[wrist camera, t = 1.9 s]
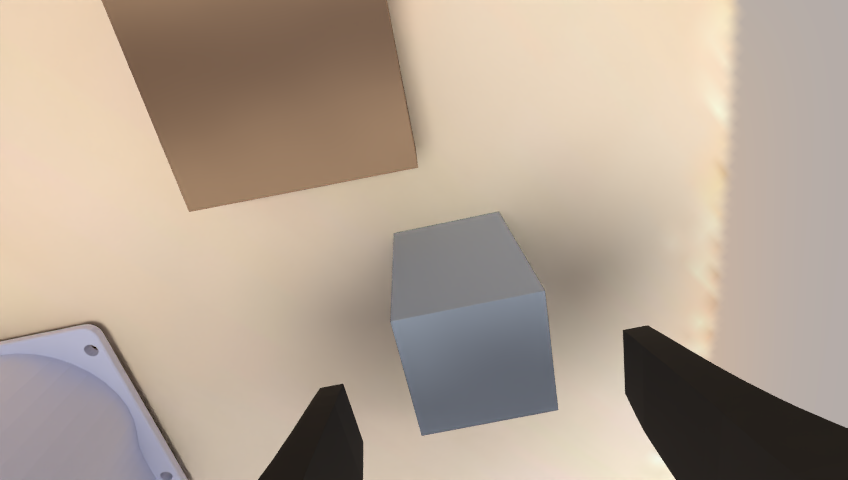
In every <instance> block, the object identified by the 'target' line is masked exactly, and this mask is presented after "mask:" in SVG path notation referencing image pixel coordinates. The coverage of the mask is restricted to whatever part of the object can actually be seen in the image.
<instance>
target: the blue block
mask: <svg viewBox="0 0 848 480" xmlns="http://www.w3.org/2000/svg"><path fill="white" fill-rule="evenodd" d="M390 322H391V325H392V329H393V333H394V336H395V340H396V343H397V347H398V351H399V354H400V358H401V362H402V365H403V369H404V373H405V376H406V380H407V384H408V387H409V391H410V395H411V398H412V402H413V405H414V409H415V413H416V416H417V420H418V424H419V427H420V431H421V435H422V436H423V435H429V434H434V433H439V432H444V431H450V430H455V429H460V428H466V427H471V426H476V425H481V424H487V423H492V422H497V421H503V420H508V419H513V418H518V417H524V416H529V415H534V414H540V413H545V412H550V411H555V410H558V403H557V394H556V385H555V376H554V367H553V358H552V349H551V340H550V332H549V323H548V314H547V305H546V296H545V290H544V288H543V287H542V285H541V283H540V281H539V280H538V278H537V276H536V275H535V273H534V271H533V269H532V268H531V266H530V264H529V263H528V261H527V259H526V257H525V256H524V254H523V252H522V251H521V249H520V247H519V245H518V244H517V242H516V240H515V239H514V237H513V235H512V233H511V232H510V230H509V228H508V227H507V225H506V223H505V221H504V220H503V218H502V216H501V215H500V213H499V212H494V213H489V214H485V215H480V216H475V217H470V218H465V219H460V220H456V221H451V222H446V223H441V224H436V225H431V226H427V227H422V228H417V229H412V230H407V231H402V232H397V233H394V242H393V268H392V294H391V321H390Z"/></svg>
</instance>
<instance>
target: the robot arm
mask: <svg viewBox="0 0 848 480" xmlns="http://www.w3.org/2000/svg"><path fill="white" fill-rule="evenodd" d="M623 343H624V372H625V394H626V396H627V398H628V400H629V402H630V404H631V406H632V408H633V410H634V412H635V414H636V416H637V418H638V420H639V422H640V424H641V426H642V428H643V430H644V432H645V433H646V435H647V436H648V438H649V440H650V441H651V443H652V444H653V446H654V447H655V449H656V450H657V452H658V453H659V455H660V456H661V458H662V460H663V461H664V463H665V464H666V466H667V467H668V469H669V470H670V472H671V473H672V475H673V476H674V478H675V479H676V480H848V428H845V427H843V426H840V425H838V424H836V423H833V422H831V421H828V420H826V419H824V418H822V417H819V416H817V415H815V414H812V413H810V412H808V411H805V410H803V409H801V408H798V407H796V406H794V405H792V404H790V403H788V402H785V401H783V400H781V399H779V398H777V397H775V396H773V395H771V394H769V393H767V392H765V391H763V390H761V389H759V388H757V387H755V386H753V385H751V384H749V383H747V382H746V381H744V380H742V379H739V378H738V377H736V376H734V375H732V374H731V373H729V372H727V371H725V370H723V369H721V368H720V367H718V366H716V365H714V364H713V363H711V362H709V361H707V360H706V359H704V358H702V357H700V356H699V355H697V354H695V353H694V352H692V351H690V350H689V349H687V348H685V347H683V346H682V345H680V344H678V343H677V342H675V341H673V340H672V339H670V338H668V337H667V336H665V335H663V334H662V333H660V332H658V331H656V330H655V329H653V328H651V327H649V326H648V325H647V326H642V327H637V328H632V329H626V330H623ZM91 345H93V346H95V347H96V348H97V349H98V350H96V349H94V348H93V347H92V346H91ZM0 480H188V479H187V477H186V476H185V474H184V472H183V471H182V469H181V467H180V465H179V464H178V462H177V460H176V458H175V457H174V455H173V453H172V451H171V450H170V448H169V446H168V445H167V443H166V441H165V439H164V438H163V436H162V434H161V432H160V431H159V429H158V427H157V425H156V424H155V422H154V420H153V418H152V417H151V415H150V413H149V412H148V410H147V408H146V406H145V405H144V403H143V401H142V399H141V398H140V396H139V394H138V392H137V391H136V389H135V387H134V386H133V384H132V382H131V380H130V379H129V377H128V375H127V373H126V372H125V370H124V368H123V366H122V365H121V363H120V361H119V359H118V358H117V356H116V354H115V353H114V351H113V349H112V347H111V346H110V344H109V342H108V340H107V339H106V337H105V335H104V333H103V332H102V331H101V330H100V328H98V327H96V326H94V325H91V324H84V325H79V326H74V327H69V328H64V329H59V330H54V331H49V332H44V333H39V334H34V335H29V336H25V337H20V338H15V339H10V340H5V341H0ZM258 480H363V440H362V437H361V434H360V431H359V428H358V425H357V423H356V420H355V417H354V414H353V411H352V408H351V405H350V402H349V399H348V396H347V394H346V391H345V388H344V385H343V384H339V385H334V386H329V387H324V388H320V389H319V391H318V392H317V393H316V395H315V396H314V398H313V400H312V401H311V403H310V404H309V406H308V407H307V409H306V410H305V412H304V414H303V415H302V417H301V418H300V420H299V421H298V423H297V424H296V426H295V427H294V429H293V431H292V432H291V434H290V435H289V437H288V438H287V440H286V441H285V442H284V444H283V445H282V447H281V448H280V450H279V451H278V453H277V454H276V456H275V457H274V459H273V460H272V461H271V463H270V464H269V466H268V467H267V468H266V470H265V471H264V472H263V474H262V475H261V476H260V478H259V479H258Z"/></svg>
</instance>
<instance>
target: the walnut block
mask: <svg viewBox="0 0 848 480" xmlns="http://www.w3.org/2000/svg"><path fill="white" fill-rule="evenodd" d="M102 2H103V5H104V7H105V10H106V12H107V14H108V17H109V19H110V22H111V24H112V26H113V29H114V31H115V34H116V36H117V39H118V41H119V43H120V46H121V48H122V51H123V53H124V55H125V58H126V60H127V63H128V65H129V68H130V70H131V72H132V75H133V77H134V80H135V82H136V84H137V87H138V89H139V92H140V94H141V97H142V99H143V101H144V104H145V106H146V109H147V111H148V113H149V116H150V118H151V121H152V123H153V126H154V128H155V130H156V133H157V135H158V138H159V140H160V142H161V145H162V147H163V150H164V152H165V155H166V157H167V159H168V162H169V164H170V167H171V169H172V171H173V174H174V176H175V179H176V181H177V184H178V186H179V188H180V191H181V193H182V196H183V198H184V201H185V203H186V205H187V208H188V210H189V212H191V211H196V210H202V209H207V208H212V207H217V206H222V205H227V204H232V203H238V202H243V201H248V200H253V199H258V198H263V197H269V196H274V195H279V194H284V193H289V192H294V191H299V190H305V189H310V188H315V187H320V186H325V185H330V184H335V183H341V182H346V181H351V180H356V179H361V178H366V177H371V176H377V175H382V174H387V173H392V172H397V171H402V170H408V169H413V168H418V164H417V156H416V149H415V144H414V139H413V133H412V128H411V123H410V118H409V113H408V108H407V103H406V97H405V92H404V87H403V82H402V77H401V72H400V66H399V61H398V56H397V51H396V46H395V41H394V36H393V30H392V25H391V20H390V15H389V10H388V5H387V0H102Z"/></svg>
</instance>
